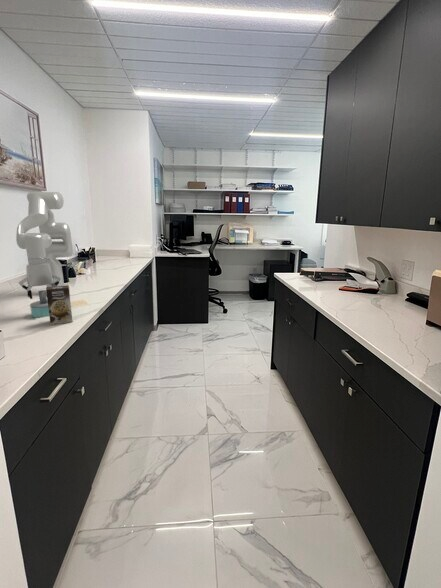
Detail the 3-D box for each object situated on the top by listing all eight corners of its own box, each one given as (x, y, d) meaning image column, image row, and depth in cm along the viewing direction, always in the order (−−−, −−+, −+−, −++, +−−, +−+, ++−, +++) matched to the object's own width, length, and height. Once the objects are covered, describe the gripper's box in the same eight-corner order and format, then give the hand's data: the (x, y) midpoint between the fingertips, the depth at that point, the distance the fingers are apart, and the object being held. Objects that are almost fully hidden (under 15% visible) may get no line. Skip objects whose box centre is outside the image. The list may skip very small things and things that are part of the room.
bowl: (30, 313, 150) (29, 304, 149) (55, 309, 157) (54, 300, 156) (34, 319, 142) (32, 309, 141) (60, 315, 148) (58, 305, 147)
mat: (62, 304, 167) (62, 303, 167) (83, 300, 173) (83, 299, 173) (67, 308, 158) (66, 307, 158) (89, 305, 165) (89, 304, 165)
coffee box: (50, 325, 135) (45, 289, 131) (50, 321, 140) (45, 286, 136) (73, 322, 139) (68, 287, 135) (72, 318, 144) (68, 284, 140)
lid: (28, 304, 149) (26, 290, 147) (54, 300, 156) (52, 287, 154) (32, 309, 141) (30, 295, 139) (59, 305, 147) (57, 291, 146)
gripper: (56, 258, 151) (60, 292, 155) (14, 262, 141) (20, 298, 145) (59, 260, 145) (64, 295, 150) (16, 264, 135) (22, 301, 139)
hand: (42, 296), depth 147 cm, fingers open, 9 cm apart
